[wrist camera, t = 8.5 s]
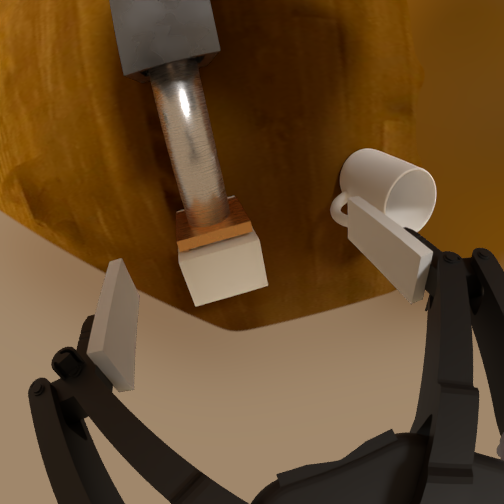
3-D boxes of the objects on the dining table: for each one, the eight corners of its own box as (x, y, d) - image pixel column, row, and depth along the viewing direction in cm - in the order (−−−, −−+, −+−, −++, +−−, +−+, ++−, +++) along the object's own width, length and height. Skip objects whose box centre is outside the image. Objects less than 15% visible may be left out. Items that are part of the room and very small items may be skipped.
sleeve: (125, 5, 21) (105, -32, 11) (190, -11, 21) (198, -55, 12) (141, 83, 26) (123, 75, 17) (206, 66, 27) (220, 50, 17)
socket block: (176, 211, 34) (178, 262, 24) (234, 195, 35) (259, 239, 25) (188, 247, 37) (195, 306, 27) (242, 232, 38) (268, 285, 28)
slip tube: (135, 61, 21) (123, 51, 16) (203, 43, 22) (211, 28, 17) (186, 246, 32) (190, 279, 26) (243, 230, 33) (258, 260, 27)
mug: (325, 227, 40) (364, 267, 32) (304, 176, 36) (346, 206, 27) (391, 188, 40) (439, 216, 31) (378, 137, 35) (431, 156, 27)
